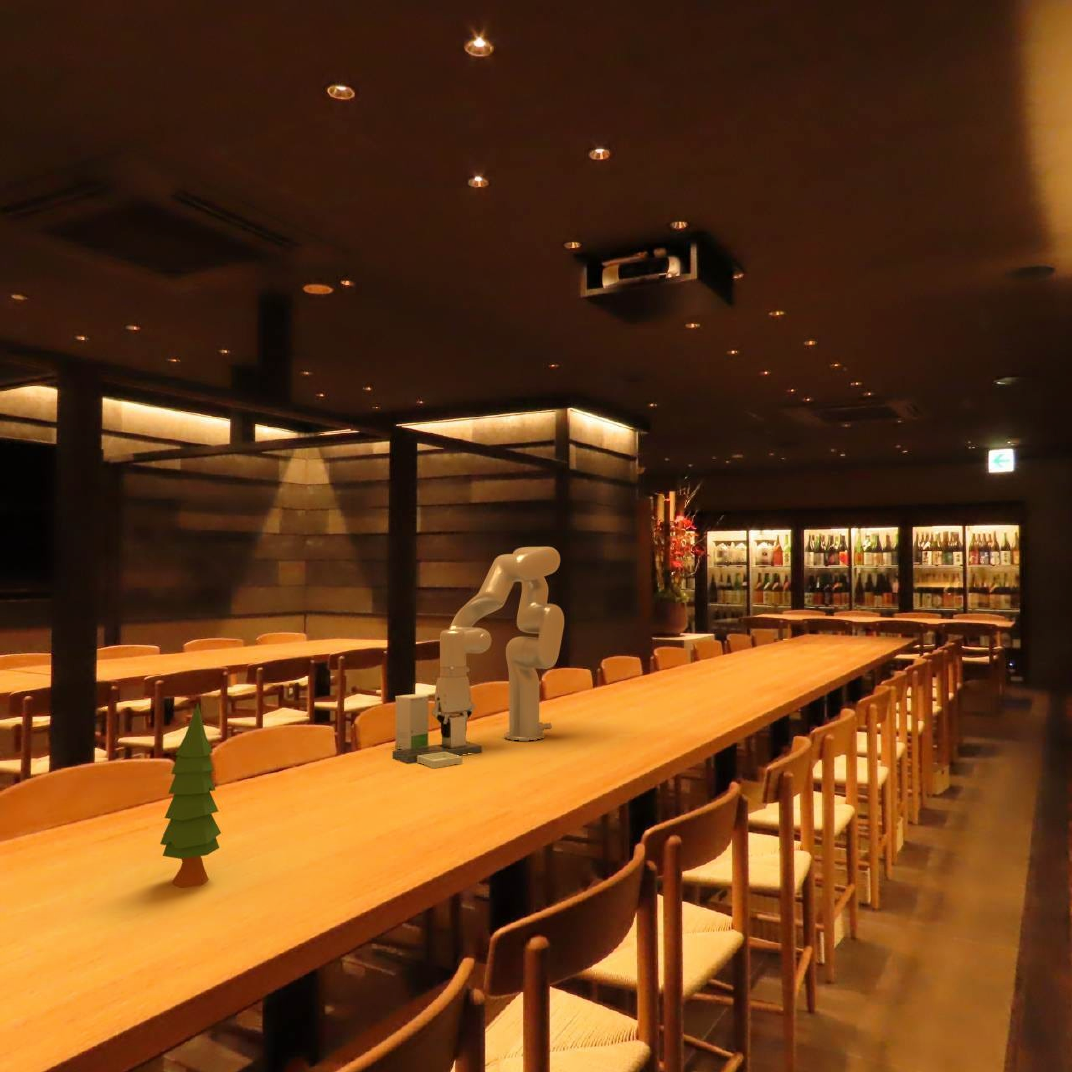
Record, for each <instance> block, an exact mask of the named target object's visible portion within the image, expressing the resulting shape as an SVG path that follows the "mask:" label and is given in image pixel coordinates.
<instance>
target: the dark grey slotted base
mask: <svg viewBox="0 0 1072 1072" xmlns="http://www.w3.org/2000/svg"><path fill="white" fill-rule="evenodd" d="M439 752H448V753H451V754H454V755H463V754H468V753H476V754H481V753H480V752H482V753H483V745H480V744H477V743H473V742H470V741H467V740H466V747H462V748H454V749H447V748H443V747H442V743H440V744H434V745H428V746H424V747H417V748H410V749H402V750H398V749H395V750H392V759H394V758H396V759H395V760H397V759H398V760H397V761H399V760H400V761H399V762H402V761H403V762H402V763H406V764H415V763H417V756H418V755H425V754H432V753H439ZM463 756H464V755H463Z"/></svg>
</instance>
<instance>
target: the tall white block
mask: <svg viewBox="0 0 1072 1072" xmlns="http://www.w3.org/2000/svg"><path fill="white" fill-rule="evenodd" d="M447 724H449V738H445V737H442V736H441V744H442V747H443V748H447V749H454V748H462V747H466V741H467V731H466V716H463V715H459V713H458V714H457V713H451V714H449V717H448V722H447Z"/></svg>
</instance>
